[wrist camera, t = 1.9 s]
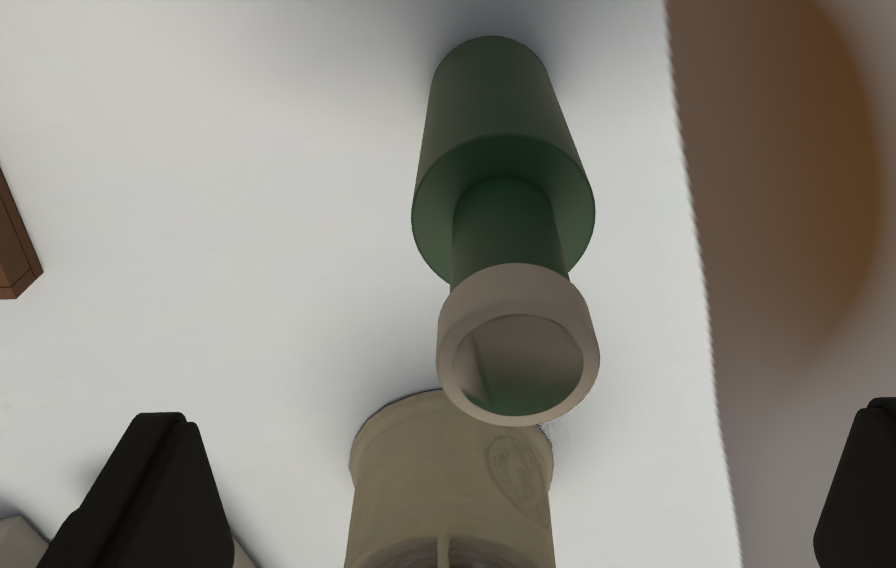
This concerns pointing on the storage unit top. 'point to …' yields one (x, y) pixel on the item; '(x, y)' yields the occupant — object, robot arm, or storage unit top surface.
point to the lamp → (448, 490)
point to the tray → (14, 250)
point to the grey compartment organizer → (21, 548)
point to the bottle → (505, 236)
